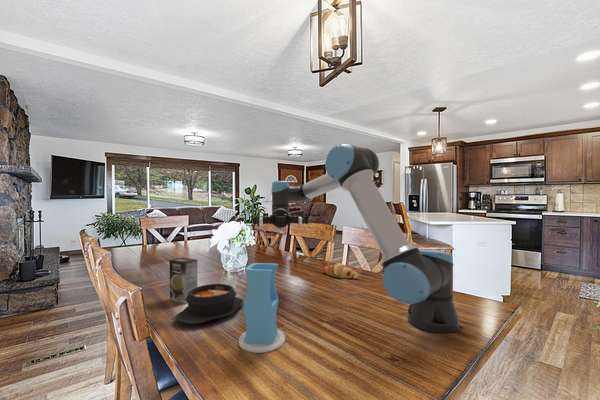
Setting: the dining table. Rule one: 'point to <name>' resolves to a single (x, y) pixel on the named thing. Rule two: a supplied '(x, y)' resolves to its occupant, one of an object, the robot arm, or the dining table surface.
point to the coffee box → (182, 278)
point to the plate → (260, 347)
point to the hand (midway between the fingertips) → (280, 222)
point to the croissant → (340, 271)
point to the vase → (261, 304)
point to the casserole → (209, 303)
